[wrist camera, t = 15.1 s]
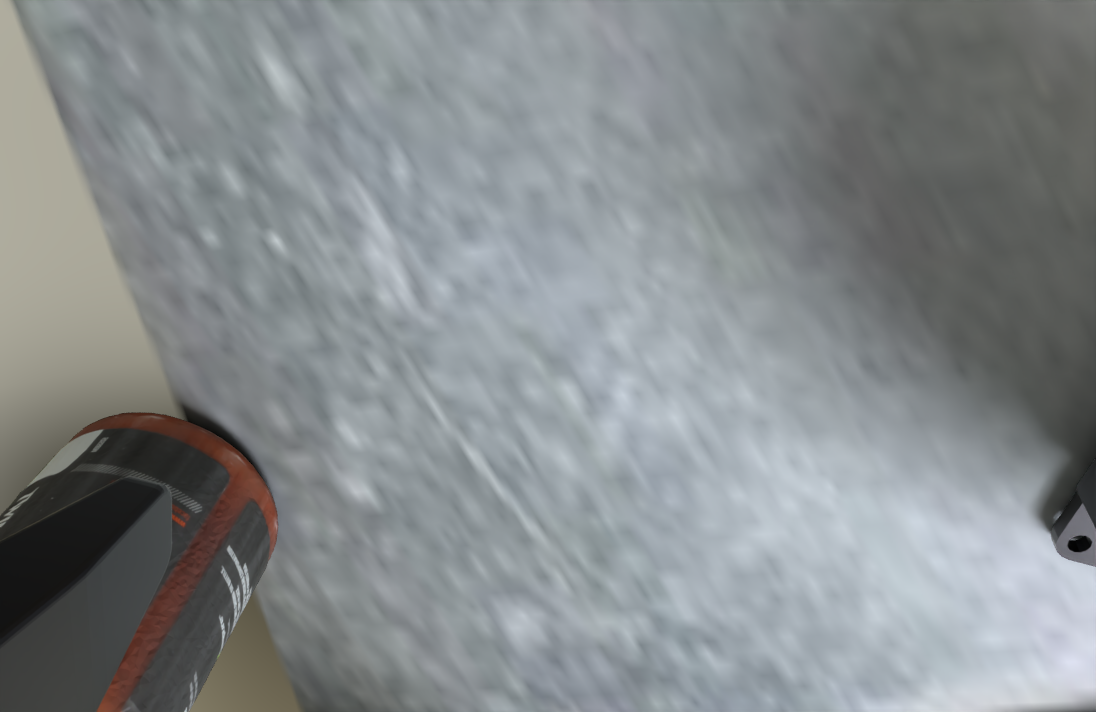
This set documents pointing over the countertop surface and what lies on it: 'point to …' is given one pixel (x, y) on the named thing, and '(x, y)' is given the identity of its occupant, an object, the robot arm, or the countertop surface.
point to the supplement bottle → (197, 544)
